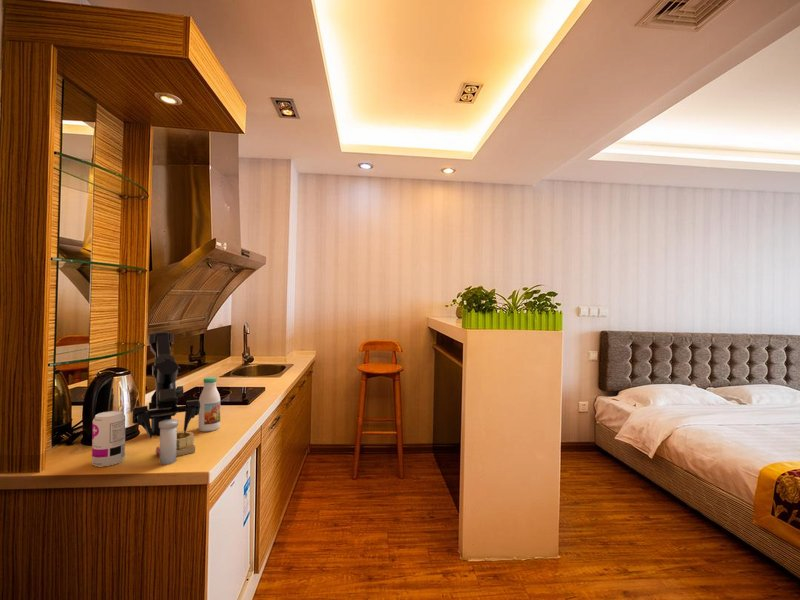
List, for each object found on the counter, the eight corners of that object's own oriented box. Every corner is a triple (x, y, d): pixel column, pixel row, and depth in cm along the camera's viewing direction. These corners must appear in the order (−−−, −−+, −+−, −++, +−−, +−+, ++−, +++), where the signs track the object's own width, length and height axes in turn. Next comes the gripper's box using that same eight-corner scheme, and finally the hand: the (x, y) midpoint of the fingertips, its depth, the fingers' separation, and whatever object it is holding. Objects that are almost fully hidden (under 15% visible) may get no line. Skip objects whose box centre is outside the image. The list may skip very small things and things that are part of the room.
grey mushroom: (154, 464, 122) (154, 423, 122) (168, 457, 127) (168, 418, 127) (167, 466, 120) (168, 424, 120) (181, 459, 125) (182, 420, 125)
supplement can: (91, 470, 117) (92, 419, 117) (92, 461, 124) (93, 412, 124) (125, 463, 122) (125, 414, 122) (124, 455, 128) (124, 408, 128)
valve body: (151, 449, 135) (151, 433, 135) (185, 442, 142) (185, 427, 142) (160, 461, 125) (160, 444, 125) (197, 452, 132) (197, 436, 132)
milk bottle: (195, 432, 151) (196, 380, 151) (201, 426, 159) (202, 376, 159) (217, 431, 153) (218, 379, 153) (222, 425, 160) (222, 375, 160)
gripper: (133, 381, 123) (132, 425, 114) (199, 375, 134) (204, 416, 124) (132, 401, 130) (132, 445, 120) (196, 394, 140) (200, 434, 131)
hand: (168, 434), depth 124 cm, fingers open, 9 cm apart
